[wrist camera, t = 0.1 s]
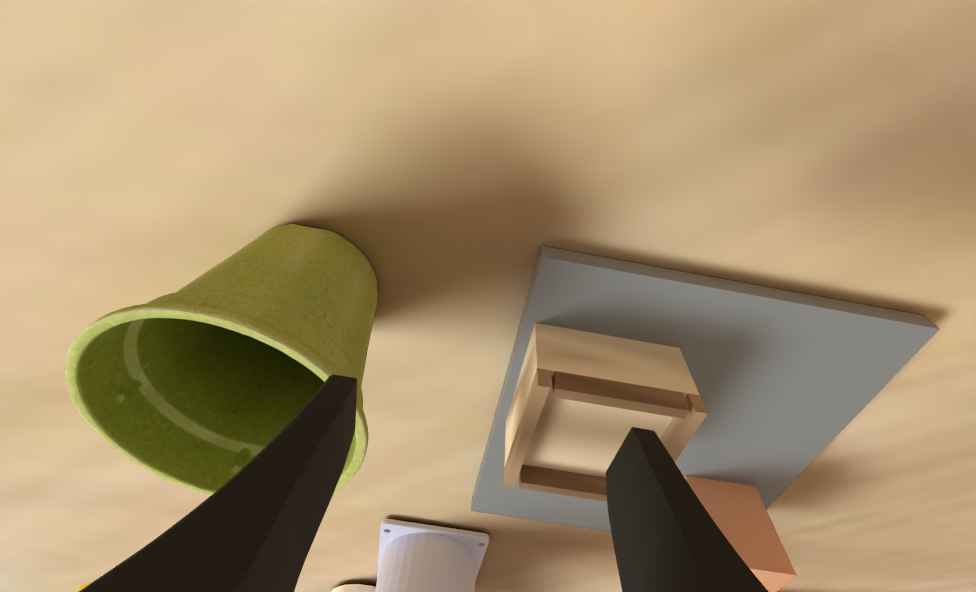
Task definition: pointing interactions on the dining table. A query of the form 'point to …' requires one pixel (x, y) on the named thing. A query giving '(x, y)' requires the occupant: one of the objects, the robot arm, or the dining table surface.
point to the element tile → (83, 587)
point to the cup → (354, 588)
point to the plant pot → (229, 357)
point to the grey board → (713, 370)
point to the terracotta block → (746, 528)
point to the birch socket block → (592, 408)
